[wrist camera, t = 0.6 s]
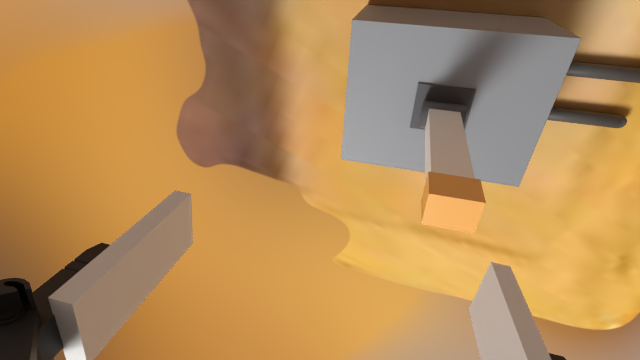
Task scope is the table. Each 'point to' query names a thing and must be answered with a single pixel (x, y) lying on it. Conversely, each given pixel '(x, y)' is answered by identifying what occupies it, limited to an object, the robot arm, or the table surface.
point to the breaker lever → (449, 170)
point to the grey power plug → (461, 85)
